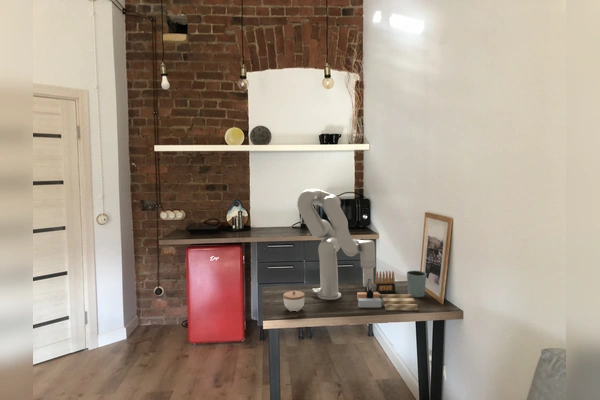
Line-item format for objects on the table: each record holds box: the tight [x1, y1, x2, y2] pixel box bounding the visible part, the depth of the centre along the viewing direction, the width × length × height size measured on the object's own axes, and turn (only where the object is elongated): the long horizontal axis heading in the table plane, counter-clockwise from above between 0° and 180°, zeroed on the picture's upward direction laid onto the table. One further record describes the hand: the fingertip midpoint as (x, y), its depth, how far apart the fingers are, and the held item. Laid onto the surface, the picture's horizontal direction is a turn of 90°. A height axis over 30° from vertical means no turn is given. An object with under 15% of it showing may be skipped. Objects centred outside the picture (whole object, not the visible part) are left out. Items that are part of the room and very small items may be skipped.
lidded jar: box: [282, 290, 306, 312], centre depth 186 cm, size 11×11×9 cm
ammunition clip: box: [375, 270, 396, 294], centre depth 209 cm, size 11×2×12 cm, turn 90°
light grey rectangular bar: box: [357, 298, 384, 308], centre depth 188 cm, size 12×4×4 cm, turn 86°
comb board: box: [381, 293, 419, 311], centre depth 189 cm, size 15×16×2 cm
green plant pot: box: [406, 270, 427, 298], centre depth 203 cm, size 10×10×12 cm
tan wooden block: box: [356, 291, 382, 300], centre depth 198 cm, size 12×4×4 cm, turn 86°
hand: (369, 296), depth 197 cm, fingers open, 9 cm apart
